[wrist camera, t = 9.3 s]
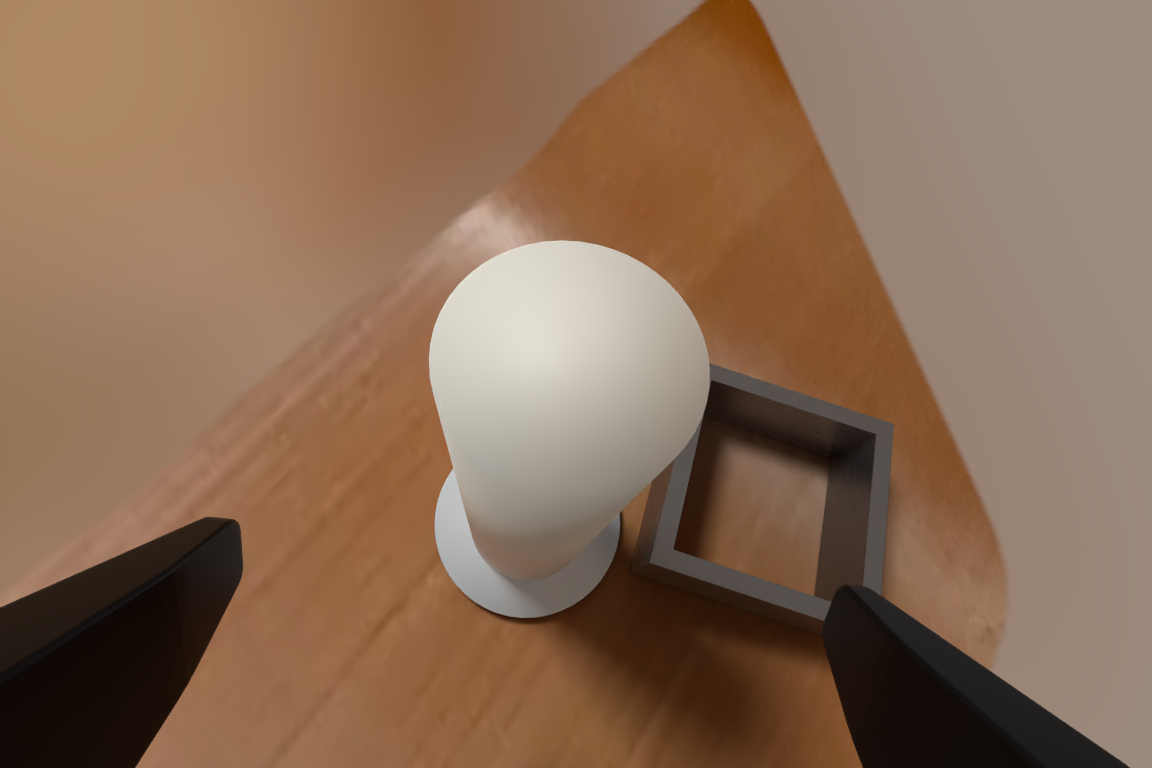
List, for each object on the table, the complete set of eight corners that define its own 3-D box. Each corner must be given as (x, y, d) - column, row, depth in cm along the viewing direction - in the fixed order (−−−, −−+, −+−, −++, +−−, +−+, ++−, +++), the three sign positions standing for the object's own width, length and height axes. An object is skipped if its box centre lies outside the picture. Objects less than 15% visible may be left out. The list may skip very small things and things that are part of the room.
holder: (826, 637, 20) (877, 638, 17) (629, 572, 20) (649, 562, 18) (846, 448, 23) (893, 424, 20) (674, 391, 23) (698, 359, 20)
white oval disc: (589, 644, 19) (591, 644, 19) (405, 582, 19) (403, 581, 19) (637, 465, 22) (639, 462, 21) (475, 411, 22) (474, 407, 21)
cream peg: (591, 575, 20) (734, 486, 8) (471, 585, 19) (428, 506, 7) (580, 460, 21) (685, 240, 9) (469, 466, 21) (430, 240, 9)
